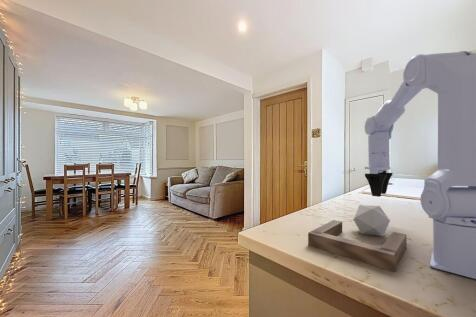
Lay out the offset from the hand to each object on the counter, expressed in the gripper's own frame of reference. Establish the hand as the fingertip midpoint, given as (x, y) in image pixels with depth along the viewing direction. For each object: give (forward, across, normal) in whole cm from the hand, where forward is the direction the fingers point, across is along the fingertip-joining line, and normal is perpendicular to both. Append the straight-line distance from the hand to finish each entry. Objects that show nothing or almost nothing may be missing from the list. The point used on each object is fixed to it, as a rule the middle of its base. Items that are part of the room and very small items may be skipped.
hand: (379, 194), depth 68 cm
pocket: (+9, +24, 0) cm, 26 cm away
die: (+10, +12, 0) cm, 16 cm away
